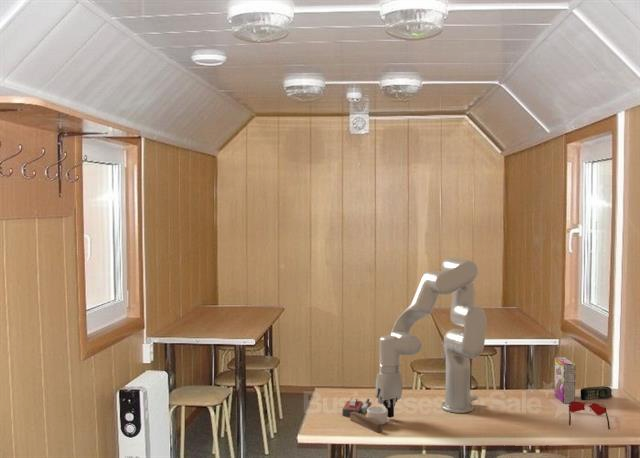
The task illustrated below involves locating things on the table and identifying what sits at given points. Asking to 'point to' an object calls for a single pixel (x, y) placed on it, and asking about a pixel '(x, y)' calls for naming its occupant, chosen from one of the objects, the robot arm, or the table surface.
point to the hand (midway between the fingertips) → (389, 416)
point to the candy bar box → (564, 380)
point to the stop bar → (366, 422)
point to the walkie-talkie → (354, 407)
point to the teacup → (378, 413)
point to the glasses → (580, 406)
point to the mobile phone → (596, 393)
